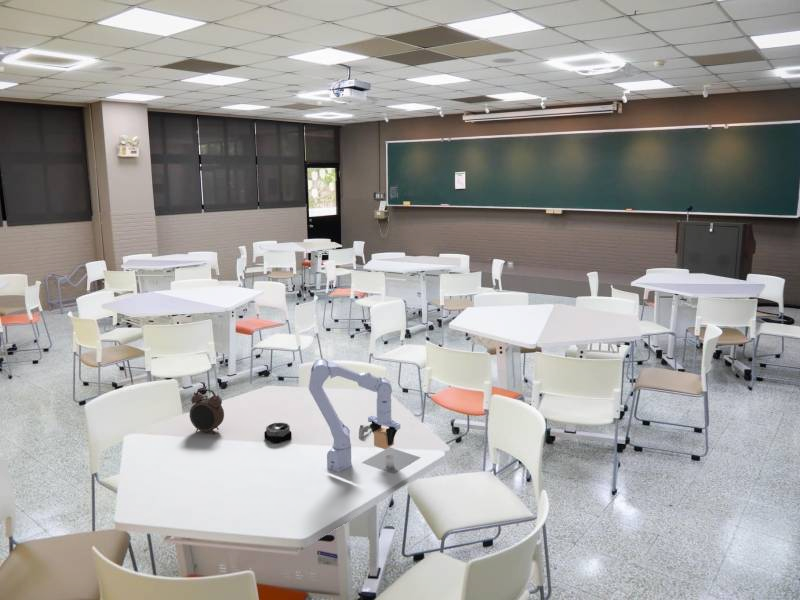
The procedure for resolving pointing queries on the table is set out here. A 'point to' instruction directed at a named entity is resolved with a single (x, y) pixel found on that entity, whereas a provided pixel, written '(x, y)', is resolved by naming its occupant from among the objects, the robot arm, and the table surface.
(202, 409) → the alarm clock
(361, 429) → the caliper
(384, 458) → the duct panel
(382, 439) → the orange cube
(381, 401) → the robot arm
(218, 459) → the table surface
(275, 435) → the cpu cooler
